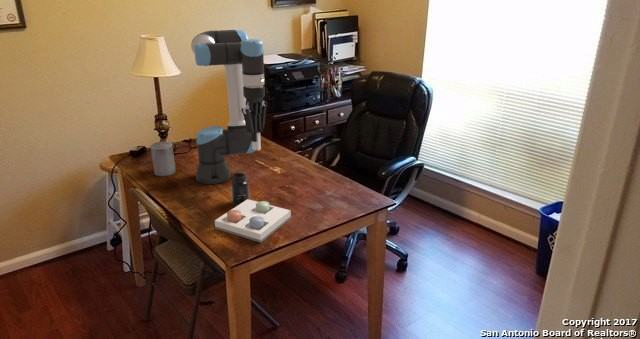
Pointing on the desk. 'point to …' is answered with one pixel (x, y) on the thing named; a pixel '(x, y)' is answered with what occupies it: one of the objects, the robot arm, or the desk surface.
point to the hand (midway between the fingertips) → (256, 149)
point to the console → (242, 228)
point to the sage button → (262, 207)
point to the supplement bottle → (240, 189)
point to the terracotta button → (234, 216)
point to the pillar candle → (163, 158)
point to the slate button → (256, 222)
